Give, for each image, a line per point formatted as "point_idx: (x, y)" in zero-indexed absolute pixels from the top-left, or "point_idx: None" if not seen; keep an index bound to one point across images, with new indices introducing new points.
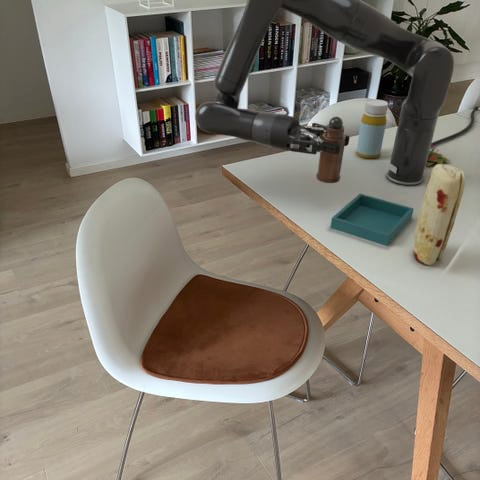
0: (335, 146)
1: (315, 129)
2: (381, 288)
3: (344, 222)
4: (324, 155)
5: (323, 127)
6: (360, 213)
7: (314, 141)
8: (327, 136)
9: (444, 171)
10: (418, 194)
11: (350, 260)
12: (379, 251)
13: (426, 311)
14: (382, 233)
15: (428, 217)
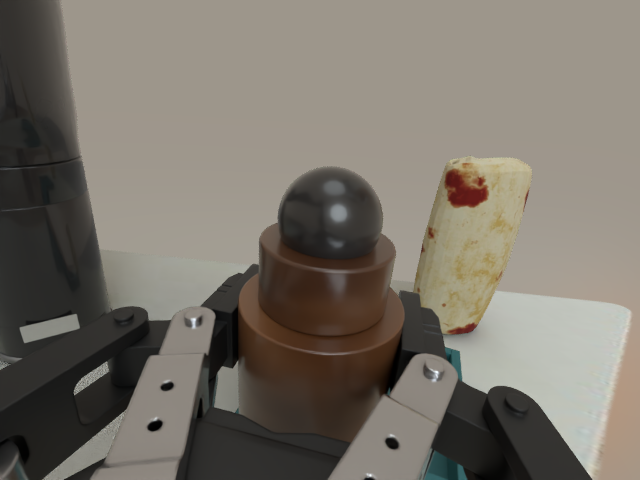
0: (427, 312)
1: (192, 418)
2: (608, 386)
3: None
4: None
5: (67, 370)
6: None
7: (494, 415)
8: (377, 319)
9: (516, 159)
10: (164, 315)
11: (574, 449)
12: (475, 388)
13: (592, 333)
14: (459, 361)
15: (510, 248)
